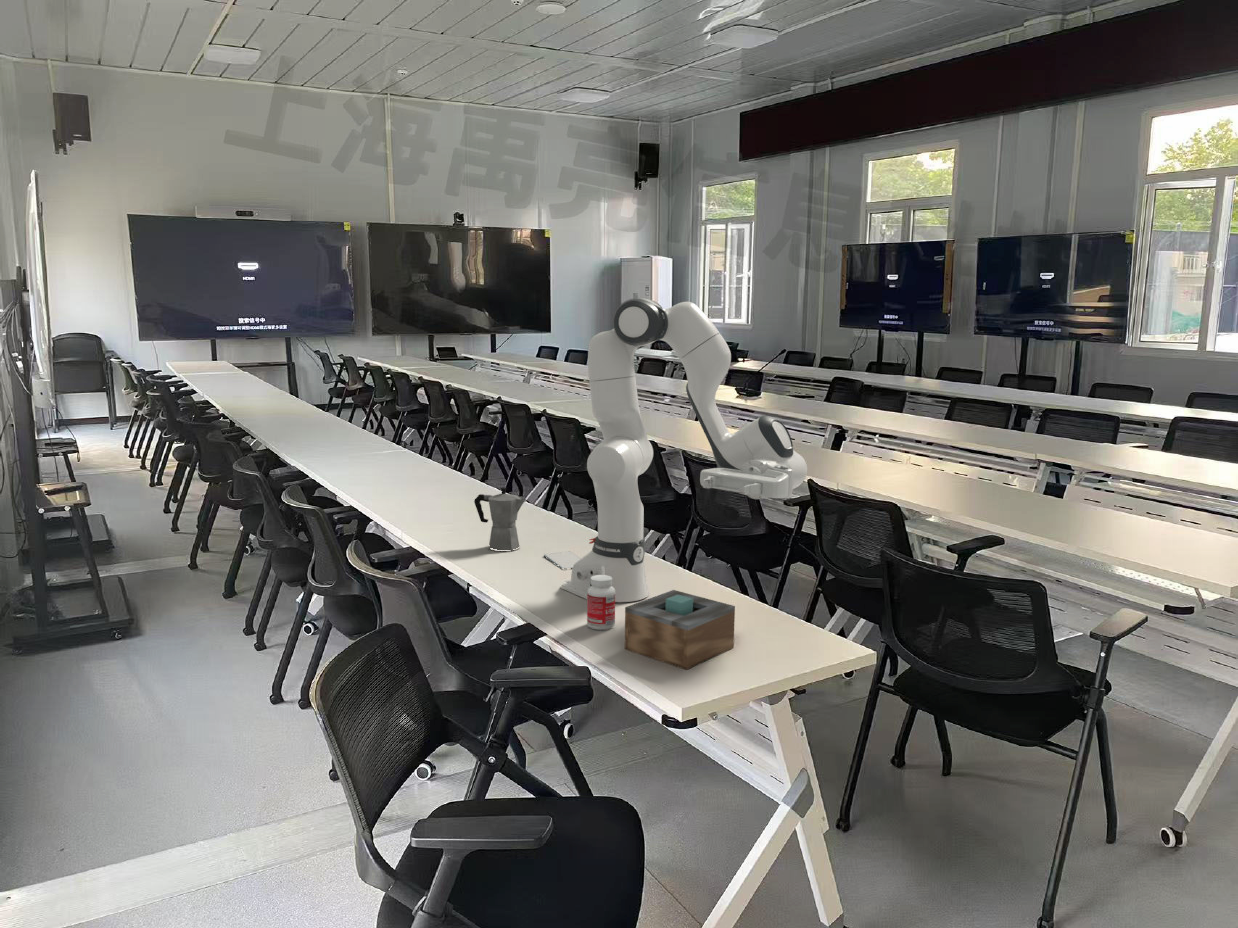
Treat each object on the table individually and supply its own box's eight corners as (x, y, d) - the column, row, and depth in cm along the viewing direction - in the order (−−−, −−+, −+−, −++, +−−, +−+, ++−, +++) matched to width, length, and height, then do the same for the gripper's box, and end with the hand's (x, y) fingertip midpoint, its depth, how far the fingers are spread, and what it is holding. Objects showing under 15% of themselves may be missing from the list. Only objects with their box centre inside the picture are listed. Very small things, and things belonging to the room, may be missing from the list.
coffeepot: (530, 545, 270) (530, 485, 267) (521, 553, 261) (521, 491, 258) (480, 542, 273) (479, 483, 270) (469, 550, 264) (468, 489, 261)
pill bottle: (608, 632, 199) (609, 583, 197) (582, 628, 201) (582, 579, 199) (619, 623, 204) (619, 575, 202) (593, 619, 206) (594, 572, 205)
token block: (664, 645, 190) (665, 598, 188) (676, 640, 193) (677, 594, 191) (680, 650, 187) (681, 603, 185) (691, 645, 190) (693, 598, 188)
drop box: (624, 649, 189) (625, 607, 187) (672, 629, 201) (673, 589, 199) (686, 669, 179) (687, 625, 177) (733, 647, 190) (734, 605, 189)
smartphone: (563, 568, 245) (542, 554, 258) (563, 572, 245) (542, 557, 258) (591, 565, 249) (570, 550, 262) (591, 568, 249) (570, 554, 262)
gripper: (721, 459, 211) (684, 466, 201) (799, 470, 198) (764, 478, 188) (720, 486, 212) (683, 494, 202) (798, 499, 199) (763, 508, 189)
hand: (723, 487), depth 195 cm, fingers open, 8 cm apart
